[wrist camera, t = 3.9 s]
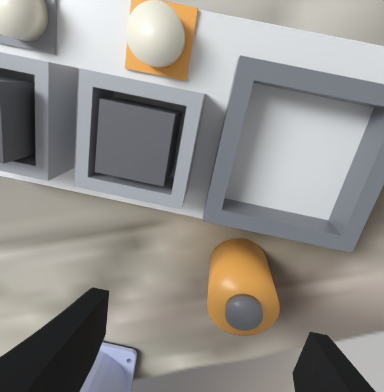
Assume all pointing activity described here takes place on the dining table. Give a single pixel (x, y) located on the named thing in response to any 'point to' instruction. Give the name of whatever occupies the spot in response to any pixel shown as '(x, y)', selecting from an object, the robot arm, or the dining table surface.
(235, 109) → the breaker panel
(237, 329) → the cap
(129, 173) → the dark grey square block
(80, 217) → the dining table surface
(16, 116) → the block
